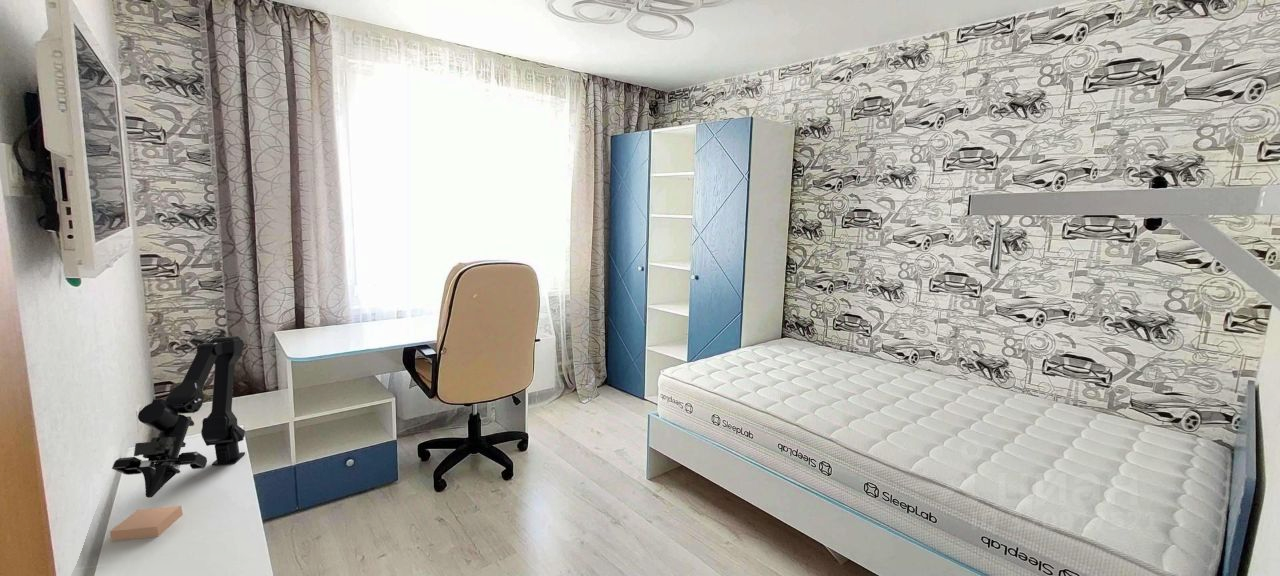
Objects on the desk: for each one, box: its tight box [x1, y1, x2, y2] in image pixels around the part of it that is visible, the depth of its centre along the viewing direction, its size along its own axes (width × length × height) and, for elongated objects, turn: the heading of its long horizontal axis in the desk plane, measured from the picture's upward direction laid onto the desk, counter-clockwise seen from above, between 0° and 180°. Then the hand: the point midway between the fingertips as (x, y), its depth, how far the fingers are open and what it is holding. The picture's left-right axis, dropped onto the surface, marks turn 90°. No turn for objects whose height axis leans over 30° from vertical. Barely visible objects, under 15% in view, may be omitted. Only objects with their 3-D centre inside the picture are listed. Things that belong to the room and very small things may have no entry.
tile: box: [109, 505, 183, 542], centre depth 134 cm, size 3×10×9 cm
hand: (148, 497), depth 135 cm, fingers closed
